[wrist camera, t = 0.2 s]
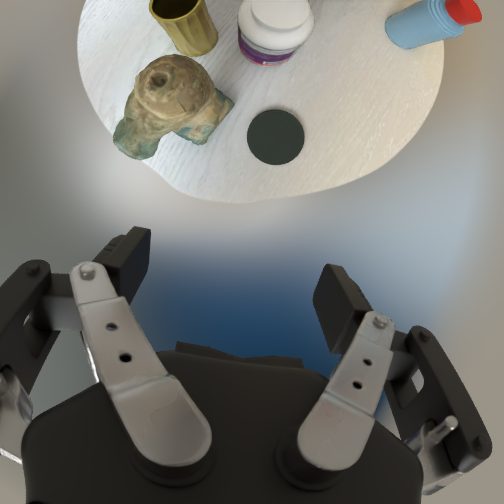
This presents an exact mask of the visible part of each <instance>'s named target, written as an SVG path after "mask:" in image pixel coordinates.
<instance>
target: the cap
mask: <svg viewBox="0 0 504 504" xmlns="http://www.w3.org/2000/svg"><path fill="white" fill-rule="evenodd" d="M445 7H446V10H447V12H448V14H449V15H450V17H451V18H452V19H453V20H454V21H455V22H456V23H458V24H460V25H467V24H472V23H477V22H480V21H481V20H482V15H481V12H480V9H479V7H478V6H477V4H476V3H475V2H474V1H473V0H446V1H445Z"/></svg>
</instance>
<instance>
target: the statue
mask: <svg viewBox="0 0 504 504" xmlns="http://www.w3.org/2000/svg"><path fill="white" fill-rule="evenodd" d="M233 107H234V103H233V102H232V101H231V100H230V99H229V98H228V97H226V96H225V95H224V94H223V93H222V92H221V91H219V90H218V89H216V88H214V84H213V82H212V80H211V78H210V77H209V75H208V73H207V71H206V70H205V69H204V68H203V67H202V65H200V64H199V63H197V62H196V61H194V60H193V59H191V58H189V57H186V56H182V55H177V54H173V55H166V56H162V57H160V58H158V59H156V60H154V61H153V62H151V63H150V64H149V65H148V66H147V67H146V68H145V69H144V70H142V71H141V72H140V73H139V74H138V75H137V76H136V79H135V84H134V89H133V91H132V92H131V93H130V95H129V97H128V100H127V102H126V106H125V112H124V118H123V119H122V120H121V121H120V122H119V124H118V125H117V127H116V130H115V133H114V135H113V141H114V142H113V143H114V144H115V145H116V147H117V148H118V149H119V150H120V151H121V152H123V153H124V154H126V155H127V156H129V157H131V158H134V159H137V160H143V159H147V158H150V157H152V156H153V155H154V154H155V152H156V150H157V147H158V143H159V141H160V139H161V137H162V136H163V135H165V134H167V133H169V132H171V131H173V132H174V133H176V134H177V135H179V136H180V137H182V138H184V139H186V140H189V141H190V140H191V141H192V142H193V143H194V144H197V145H203V144H205V143H206V142H207V139H208V136H209V135H210V134H211V133H212V132H213V131H214V129H215V128H216V127H217V126H218V125H219V123H220V122H221V121H222V120H223V119H224V117H225V116H226V115H227V114H228V113H229V112H230V110H231V109H232V108H233Z"/></svg>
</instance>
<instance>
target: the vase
mask: <svg viewBox="0 0 504 504" xmlns="http://www.w3.org/2000/svg"><path fill="white" fill-rule="evenodd" d="M149 11H150V13H151V14H152V16H153V17H154V18H155V19H156V20H157V21H158V23H159V24H160V25H161V26H162V28H163V29H164V30H165V31H166V32H167V34H168V35H169V36H170V38H171V39H172V41H173V42H174V44H175V46H176V48H177V50H178V51H179V52H180V53H182V54H184V55H186V56H191V57H194V56H200V55H203V54H205V53H207V52H209V51H210V50H211V49H212V48H213V47H214V46H215V44H216V42H217V38H218V34H217V31H216V29H215V28H214V25H213V22H212V20H211V18H210V15H209V13H208V10H207V7H206V3H205V0H150V3H149Z"/></svg>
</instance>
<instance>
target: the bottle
mask: <svg viewBox="0 0 504 504" xmlns="http://www.w3.org/2000/svg"><path fill="white" fill-rule="evenodd" d="M445 1H446V0H421V1H419V2H417V3H415V4H413V5H411V6H409V7H407V8H406V9H404V10H402V11H400V12H398V13H396V14H394V15H393V16H391V17H389V18H388V19H387V20H386V22H385V29H386V32H387V35H388V36H389V38H390V39H391V40H392V41H393V42H394V43H395V44H396V45H397V46H399V47H401V48H404V49H412V48H415V47H418V46H422V45H425V44H429V43H433V42H436V41H440V40H444V39H448V38H453V37H457V36H460V35H461V34H462V32H463V31H464V25H460V24H458V23H456V22H455V21H454V20H453V19H452V18H451V17H450V15H449V14H448V12H447V10H446V7H445Z"/></svg>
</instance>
